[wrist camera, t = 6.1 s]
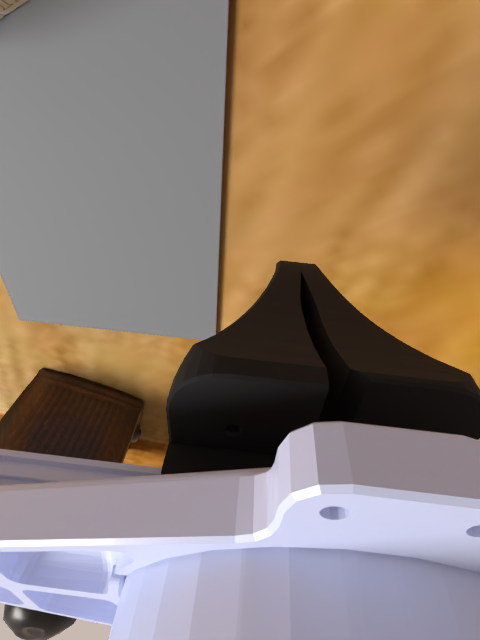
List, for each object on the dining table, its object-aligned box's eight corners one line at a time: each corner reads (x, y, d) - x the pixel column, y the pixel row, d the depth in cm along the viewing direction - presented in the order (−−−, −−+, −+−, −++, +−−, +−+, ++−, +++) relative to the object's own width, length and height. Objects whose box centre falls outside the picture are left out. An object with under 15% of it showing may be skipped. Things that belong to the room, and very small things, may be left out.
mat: (234, -139, 13) (234, -144, 13) (215, 338, 28) (215, 341, 27) (-178, -174, 13) (-190, -180, 13) (22, 317, 28) (19, 320, 28)
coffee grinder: (132, 452, 40) (53, 671, 26) (34, 423, 38) (-109, 645, 24) (167, 369, 31) (75, 641, 16) (40, 326, 29) (-188, 593, 14)
